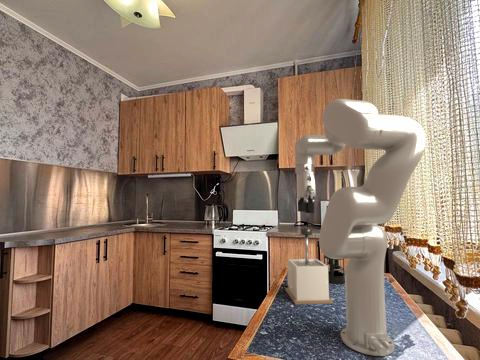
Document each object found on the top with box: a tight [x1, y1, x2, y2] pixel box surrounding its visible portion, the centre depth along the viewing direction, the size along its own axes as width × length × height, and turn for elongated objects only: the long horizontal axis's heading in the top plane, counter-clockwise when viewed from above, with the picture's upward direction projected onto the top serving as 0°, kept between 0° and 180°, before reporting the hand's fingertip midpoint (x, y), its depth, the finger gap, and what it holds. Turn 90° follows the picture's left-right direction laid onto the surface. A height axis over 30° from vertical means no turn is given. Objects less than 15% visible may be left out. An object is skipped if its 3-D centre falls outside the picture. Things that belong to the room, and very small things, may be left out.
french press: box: [323, 254, 345, 285], centre depth 118 cm, size 12×9×23 cm
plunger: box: [292, 227, 322, 266], centre depth 100 cm, size 10×10×15 cm
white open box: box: [285, 258, 334, 305], centre depth 99 cm, size 14×14×13 cm
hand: (305, 212), depth 101 cm, fingers open, 9 cm apart
